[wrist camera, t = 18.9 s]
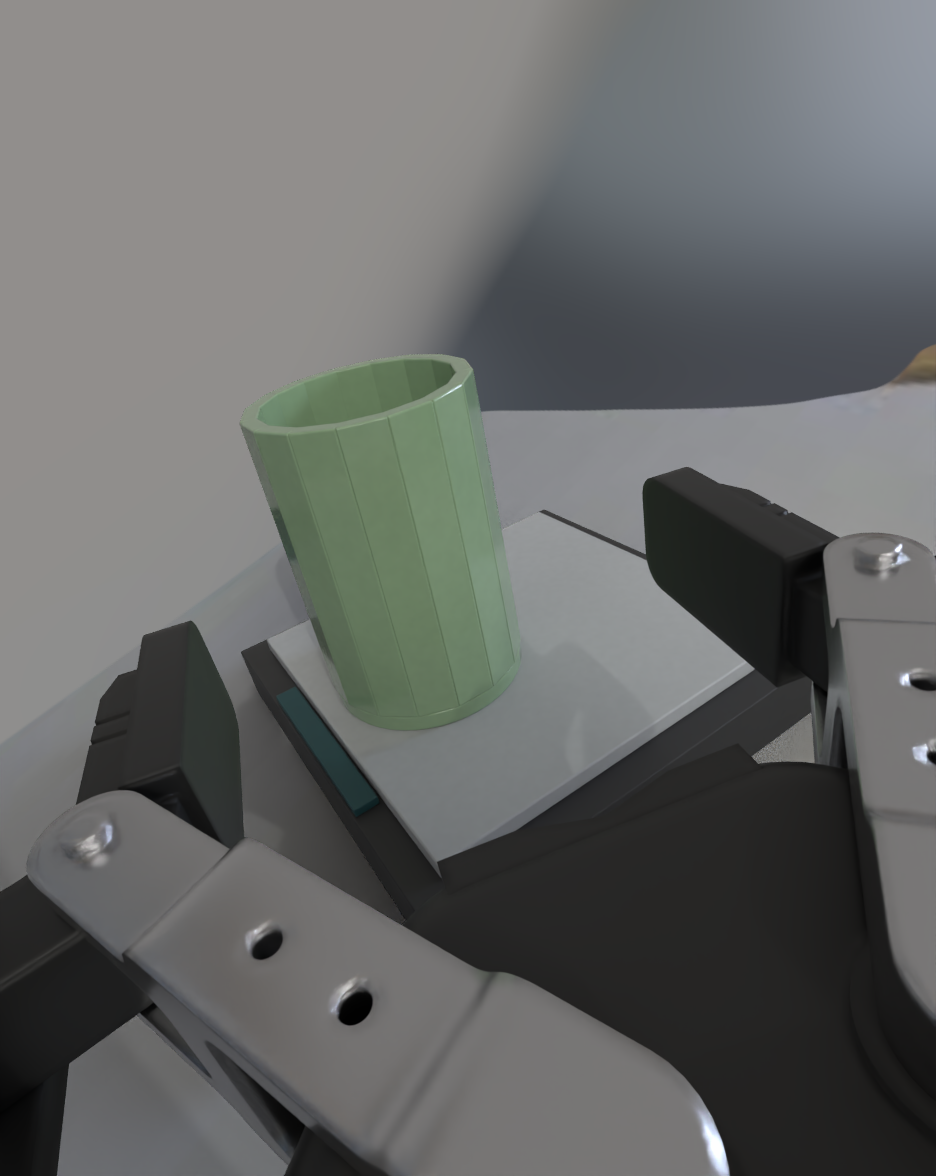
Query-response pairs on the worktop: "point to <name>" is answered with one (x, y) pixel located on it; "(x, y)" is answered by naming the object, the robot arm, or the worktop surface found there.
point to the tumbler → (393, 534)
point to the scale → (530, 713)
